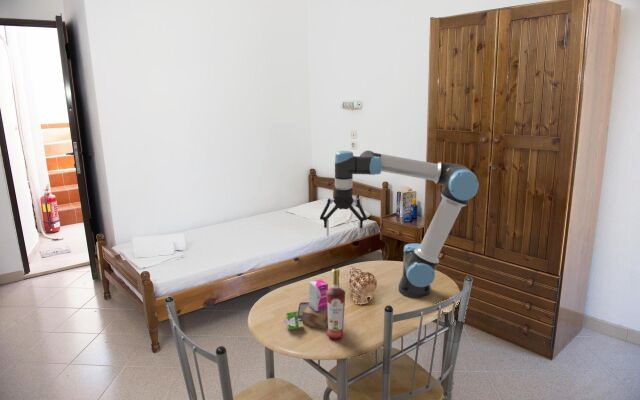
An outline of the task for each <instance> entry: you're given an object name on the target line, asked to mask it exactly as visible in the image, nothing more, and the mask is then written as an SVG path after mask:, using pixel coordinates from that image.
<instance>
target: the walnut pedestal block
mask: <svg viewBox="0 0 640 400" xmlns="http://www.w3.org/2000/svg"><path fill="white" fill-rule="evenodd" d="M301 313H302V325H305V326H310V327H315V328H319V329H324V330H325V329H326V328H328V318H327V309H325V310H321V311H318V312H315V311H314V310H312V309H311V308H310V307H309V304H308V305H307V306H306V307H305V308H304V309H303V310H302V312H301Z"/></svg>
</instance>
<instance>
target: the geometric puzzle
mask: <svg viewBox="0 0 640 400" xmlns="http://www.w3.org/2000/svg"><path fill="white" fill-rule="evenodd" d="M301 321H303V318H301V317H300V318H299V317H298V312H297V311H292V312H291V311H290V312H286V315H285V318H284V319H283V323H284V324H286V325H287V328H288V331H290V330H294V329H295V330H296V329H300V325H301Z"/></svg>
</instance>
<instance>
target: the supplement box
mask: <svg viewBox="0 0 640 400" xmlns="http://www.w3.org/2000/svg"><path fill="white" fill-rule="evenodd" d="M308 283H309V286H308V287H309V290H308V293H309V295H308V305H309V307H310V308H311V309H312V310H314V311H315V312H318V311H321V310H325V309H327V300H326V291H327V290H329V284H328V283H327V282H325V281H324V280H323V279H322V278H321V279H320V278H319V279H316V280H313V281H309V282H308Z"/></svg>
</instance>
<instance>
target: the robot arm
mask: <svg viewBox="0 0 640 400" xmlns="http://www.w3.org/2000/svg"><path fill="white" fill-rule="evenodd" d="M382 172H383V173H390V174H395V175H400V176H407V177H411V178H417V179H422V180H429V181H433V182H434V184H437V185H441V186H443V187H442V190H441V192H440V196H441V200H440V201H439V202H440V203H439V205H438V206H437V209H436V211H435V213H434V216H433V218H432V220H431V222H430V224H429V226H428V228H427V230H426V233H425V234H424V237H423V239H422V240H421V242H420V243H407V244H405V245H404V247H403V262H402V264H403V266H402V275H401V278H400V279H399V283H398V288H397V289H398V292H399V293H400V294H401V295H402V296H405V297H409V298H413V299H414V298H415V299H421V298H427V297H428V296H430V294H431V293H432V286H431V284H432V283H433V282H434V280H435V278H436V277H435V276H436V272H435V271H436V270H437V268H438V265H439V263H440V259H439V255H440V253H441V251H442V248H443V246H444V244H445V243H446V240H447V239H448V236H449V234H450V232H451V231H452V228H453V226H454V224H455V223H456V219H457V217H458V215H459V213H460V212H461V209H462V208H464V207H466V206H468V204H469V201H470V199H472V198H473V197H475V196H476V194H477V193H478V191H479V185H480V184H479V180H478V178H477V175H476V174H475V173H474V172H472V170H470V169H469V168H468V167H467V166H465V165H463V164H458V163H450V162H442V161H439V162H437V163H435V162H430V161H429V162H427V161H423V160H417V159H413V158H405V157H400V156H395V155H389V154H383V153H377V152H374V151H372V150H364V151H363V152H362V153H360V155H359V156H356V155H354V153H353V151H350V150H340V151H337V152H335V155H334V187H335V188H334V198H331V197H327V202H326V204H325V206H324V209H323V210H322V212H321V214H320V216H319V219H320V221H323V227H324V229H326V236H327V237H328V236H329V231H330V229H329V225H330V221H329V219H330V218H331V216H332V215H333V214H334V213H335V212H336V211H337V210H338V209H339V210H349V211H351V212H352V213H353V214H354V217H356V218H357V219H358V220H357V222H358V223H357V237H361V229H363V225H364V223H363V222H364V221H367V220H368V217H367V215H366V212H365V210H364V209H363V206H362V204H361V201H360V198H359V197H357V198H353V190H354V189H353V185H354V183H353V181H354V180H353V179H354V177H353V175H369V176H371V175H372V176H375V175H380V174H381V173H382ZM333 203H334V204H335V205H334V206H333V207H332V208H331V210H330V211H329V212H328V213H327V211H328V209H329V207H330V205H331V204H333ZM354 203H355V205H357V208H358V209H359V212H360V213H359V212H358V211H357V210H356V209H355V207H354V206H353V204H354Z"/></svg>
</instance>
